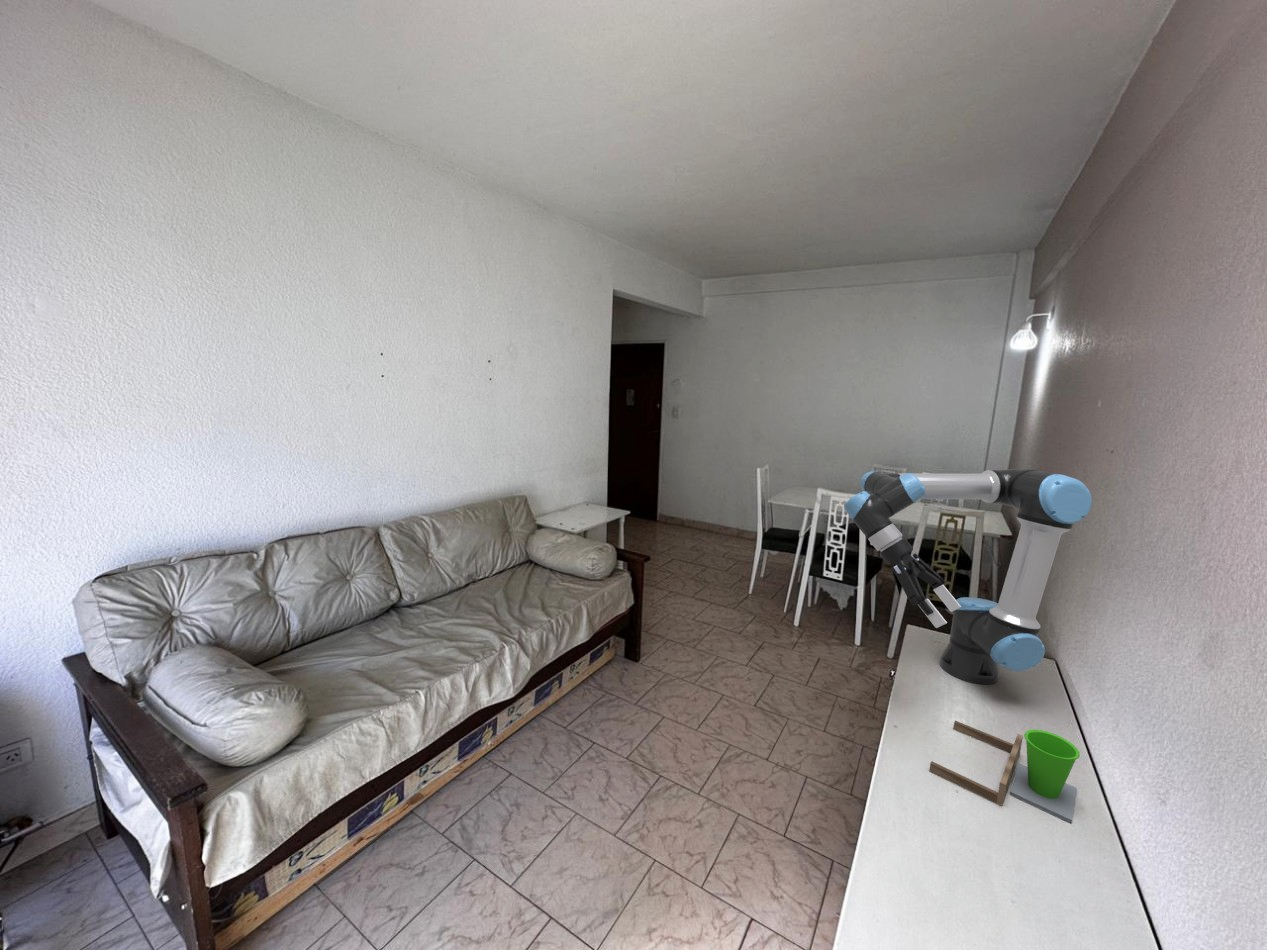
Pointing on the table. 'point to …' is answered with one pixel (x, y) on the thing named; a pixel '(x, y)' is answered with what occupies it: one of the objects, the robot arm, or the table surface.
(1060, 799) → the mat
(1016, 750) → the stall
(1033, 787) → the cup
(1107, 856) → the table surface
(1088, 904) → the table surface
